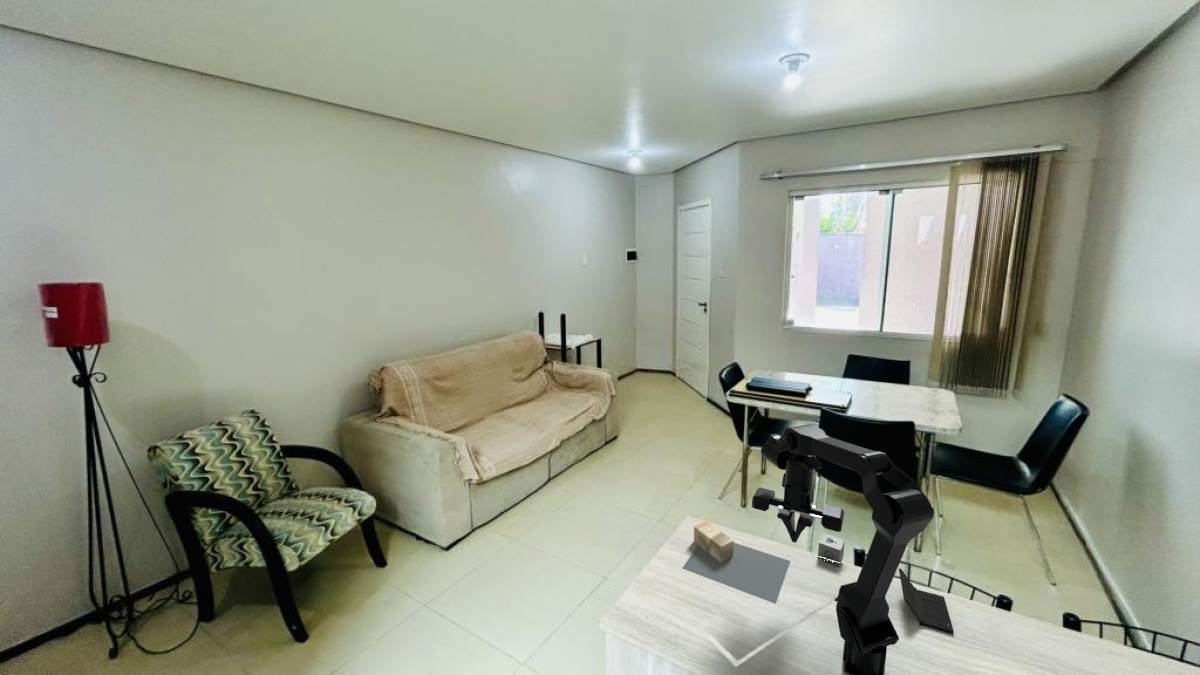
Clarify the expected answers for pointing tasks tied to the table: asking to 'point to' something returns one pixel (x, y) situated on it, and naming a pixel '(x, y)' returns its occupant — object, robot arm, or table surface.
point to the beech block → (713, 541)
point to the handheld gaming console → (926, 606)
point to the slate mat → (742, 570)
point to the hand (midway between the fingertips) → (794, 541)
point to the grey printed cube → (831, 549)
